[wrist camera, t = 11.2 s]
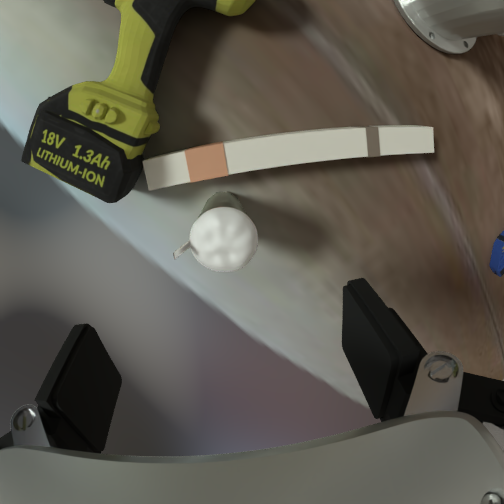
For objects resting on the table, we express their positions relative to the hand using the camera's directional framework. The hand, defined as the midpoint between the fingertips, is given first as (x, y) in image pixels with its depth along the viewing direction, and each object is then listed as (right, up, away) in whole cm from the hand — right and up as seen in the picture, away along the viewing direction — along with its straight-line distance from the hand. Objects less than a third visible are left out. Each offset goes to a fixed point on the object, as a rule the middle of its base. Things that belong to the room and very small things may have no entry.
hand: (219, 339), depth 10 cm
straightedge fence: (+5, +13, +15) cm, 20 cm away
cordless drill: (-13, +24, +9) cm, 29 cm away
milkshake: (-2, +7, +17) cm, 19 cm away
